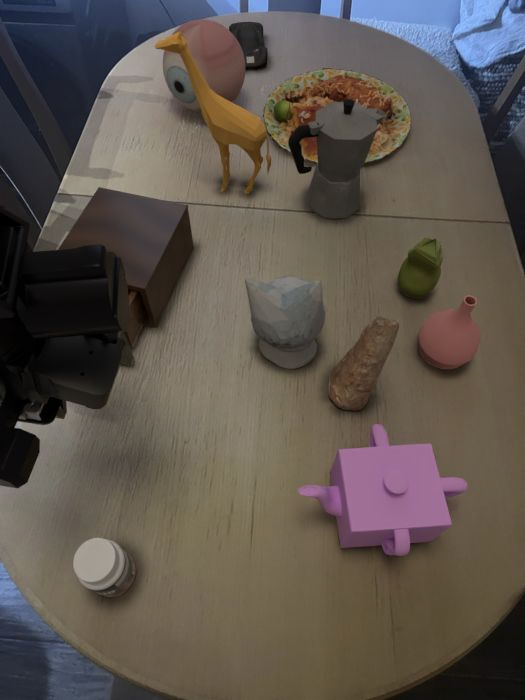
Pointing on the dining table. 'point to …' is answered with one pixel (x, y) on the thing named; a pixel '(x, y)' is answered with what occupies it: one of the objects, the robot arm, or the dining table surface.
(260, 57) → the toy car
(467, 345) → the pink vase
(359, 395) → the brown tapered rod
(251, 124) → the giraffe
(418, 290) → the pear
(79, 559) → the pill bottle
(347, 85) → the rice dish
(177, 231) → the cabinet
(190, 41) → the eyeball
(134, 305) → the drawer
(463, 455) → the dining table surface
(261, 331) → the figurine
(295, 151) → the coffeepot
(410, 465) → the teapot
